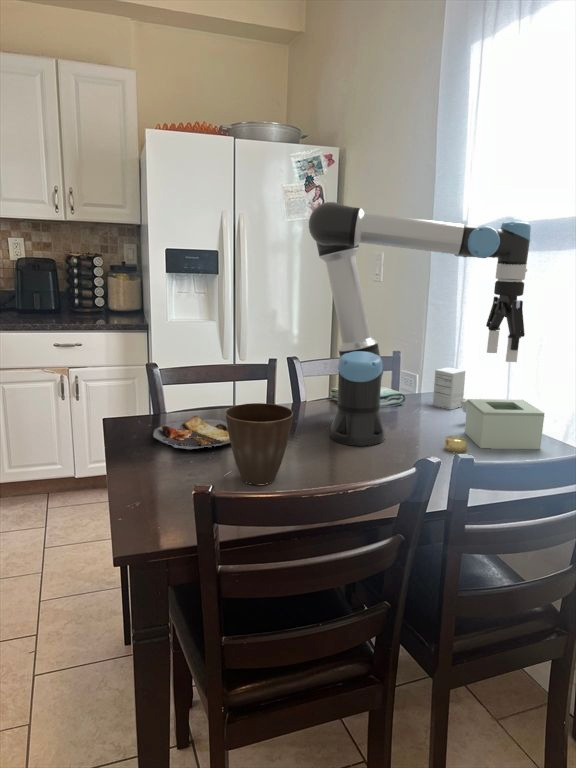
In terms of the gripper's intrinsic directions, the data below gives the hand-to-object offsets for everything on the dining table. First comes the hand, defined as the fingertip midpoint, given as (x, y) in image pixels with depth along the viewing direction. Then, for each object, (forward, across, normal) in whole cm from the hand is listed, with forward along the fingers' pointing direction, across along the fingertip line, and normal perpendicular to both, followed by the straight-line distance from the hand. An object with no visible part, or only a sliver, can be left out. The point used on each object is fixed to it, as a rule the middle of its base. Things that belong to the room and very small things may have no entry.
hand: (501, 357), depth 161 cm
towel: (+24, +35, +31) cm, 52 cm away
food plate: (+24, -5, +84) cm, 88 cm away
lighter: (+23, +9, +4) cm, 25 cm away
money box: (+22, -7, 0) cm, 23 cm away
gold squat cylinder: (+23, -14, +16) cm, 31 cm away
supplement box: (+23, +29, +4) cm, 37 cm away
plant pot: (+24, -34, +67) cm, 79 cm away
